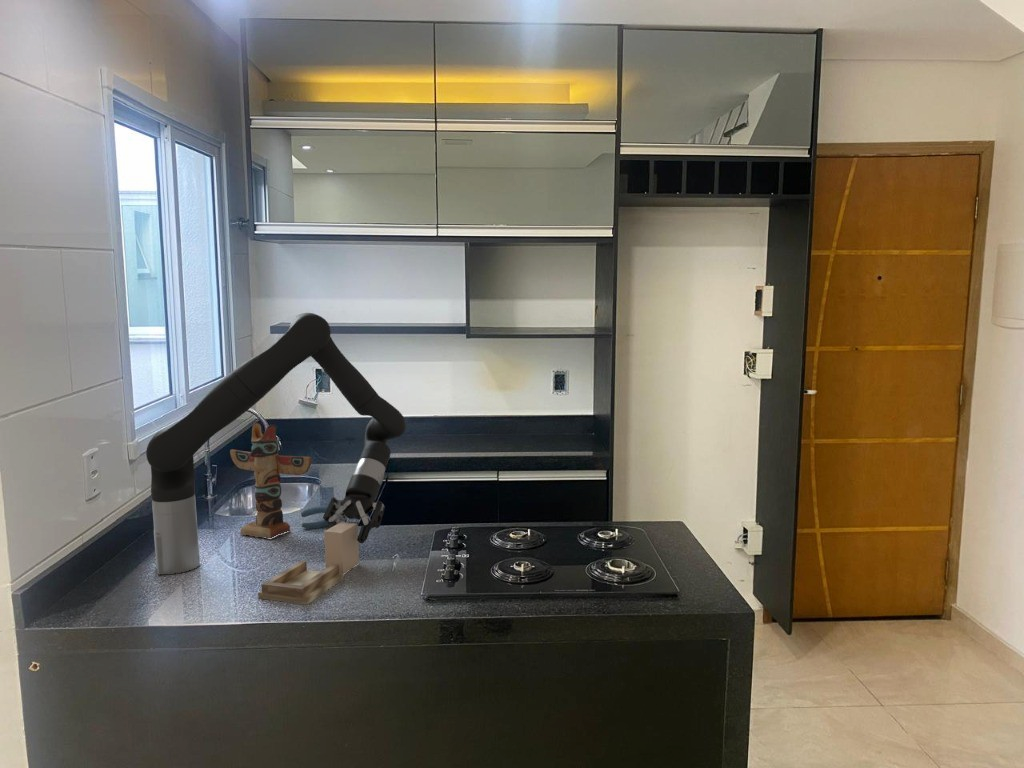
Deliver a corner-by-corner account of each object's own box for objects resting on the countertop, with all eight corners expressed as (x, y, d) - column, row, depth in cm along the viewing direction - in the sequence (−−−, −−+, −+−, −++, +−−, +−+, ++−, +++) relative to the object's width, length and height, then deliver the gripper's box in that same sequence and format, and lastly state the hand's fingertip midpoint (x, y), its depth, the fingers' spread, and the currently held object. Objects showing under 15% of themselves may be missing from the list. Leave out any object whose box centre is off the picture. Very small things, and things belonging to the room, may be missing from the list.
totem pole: (216, 531, 194) (209, 424, 191) (237, 523, 201) (230, 420, 198) (296, 544, 182) (290, 430, 179) (316, 535, 189) (310, 425, 185)
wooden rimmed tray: (307, 604, 145) (306, 589, 144) (258, 598, 148) (257, 583, 148) (343, 579, 158) (342, 565, 158) (297, 573, 162) (296, 560, 161)
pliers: (372, 518, 204) (371, 498, 203) (374, 520, 202) (373, 500, 201) (301, 528, 195) (300, 508, 194) (302, 531, 193) (301, 510, 193)
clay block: (343, 575, 160) (341, 532, 159) (326, 573, 162) (324, 531, 161) (359, 564, 167) (357, 523, 166) (342, 562, 168) (340, 522, 167)
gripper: (334, 471, 173) (310, 530, 164) (386, 474, 169) (364, 535, 160) (347, 486, 179) (324, 545, 170) (397, 490, 175) (377, 550, 165)
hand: (344, 540), depth 165 cm, fingers open, 8 cm apart
